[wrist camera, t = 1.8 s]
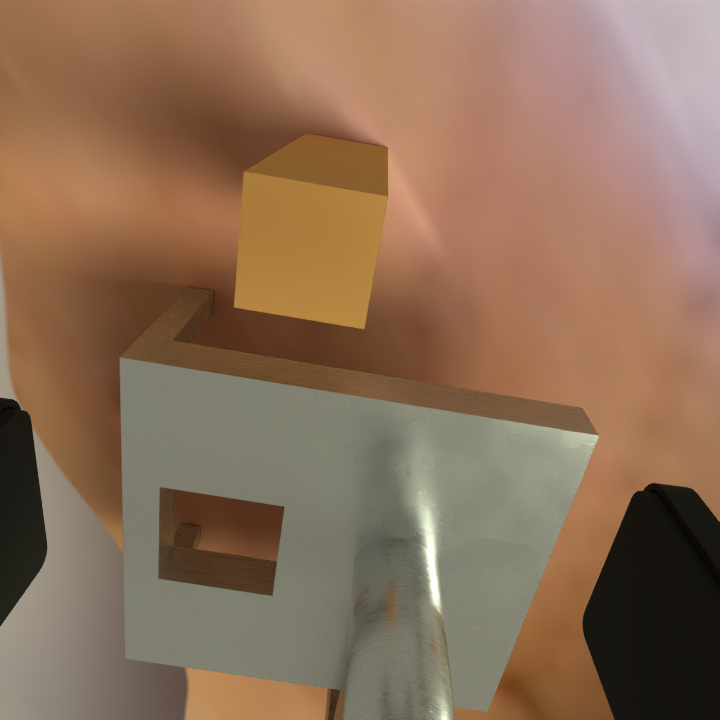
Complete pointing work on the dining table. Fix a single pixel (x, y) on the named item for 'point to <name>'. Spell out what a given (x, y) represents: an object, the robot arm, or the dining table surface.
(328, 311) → the mustard rectangular block
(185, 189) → the dining table surface
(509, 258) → the dining table surface
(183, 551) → the grey metal piece
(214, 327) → the dining table surface
